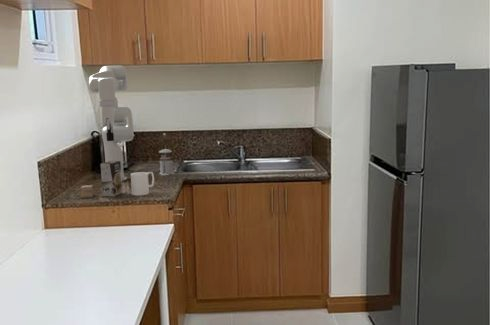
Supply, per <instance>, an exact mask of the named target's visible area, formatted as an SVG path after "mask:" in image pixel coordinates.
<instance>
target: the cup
mask: <svg viewBox="0 0 490 325" xmlns="http://www.w3.org/2000/svg"><path fill="white" fill-rule="evenodd" d="M150 174H151V178H152V180H151V184H149V175H150ZM130 184H131V186H130V187H131V195H132V196H145V195H149V194H150V188H152V187H154V185H155V176H154V172H153V171H148V172H146V171H139V172H132V173H130Z"/></svg>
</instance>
